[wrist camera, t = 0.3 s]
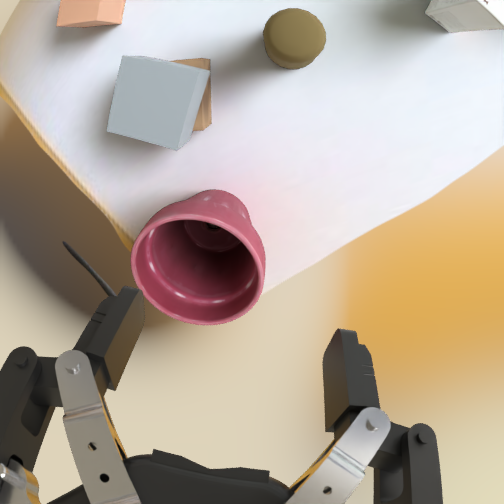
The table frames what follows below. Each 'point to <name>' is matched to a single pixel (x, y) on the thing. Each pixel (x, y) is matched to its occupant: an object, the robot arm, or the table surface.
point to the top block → (156, 100)
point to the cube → (90, 13)
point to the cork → (293, 38)
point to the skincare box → (467, 14)
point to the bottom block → (205, 106)
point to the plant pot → (200, 260)
